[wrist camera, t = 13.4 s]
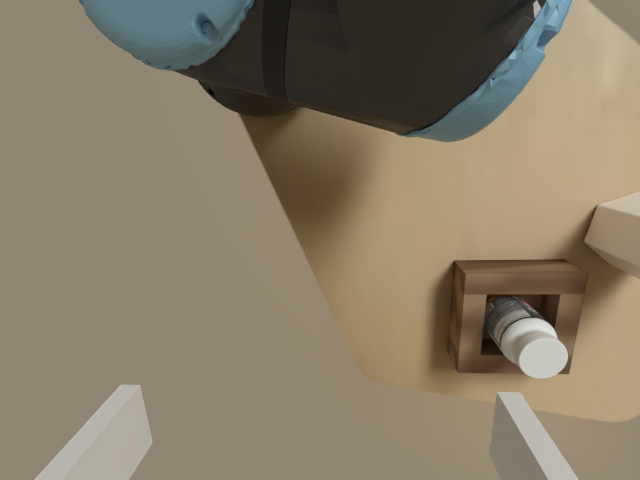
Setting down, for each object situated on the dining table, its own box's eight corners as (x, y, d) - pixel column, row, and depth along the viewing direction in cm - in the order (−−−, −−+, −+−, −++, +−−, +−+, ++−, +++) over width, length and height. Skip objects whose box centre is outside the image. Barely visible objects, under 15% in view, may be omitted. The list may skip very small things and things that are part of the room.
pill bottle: (533, 316, 44) (585, 366, 34) (492, 339, 45) (530, 392, 36) (511, 282, 43) (558, 323, 33) (469, 306, 44) (503, 352, 35)
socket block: (454, 260, 44) (465, 274, 39) (563, 259, 42) (588, 273, 38) (447, 350, 47) (457, 372, 43) (548, 351, 46) (569, 374, 42)
